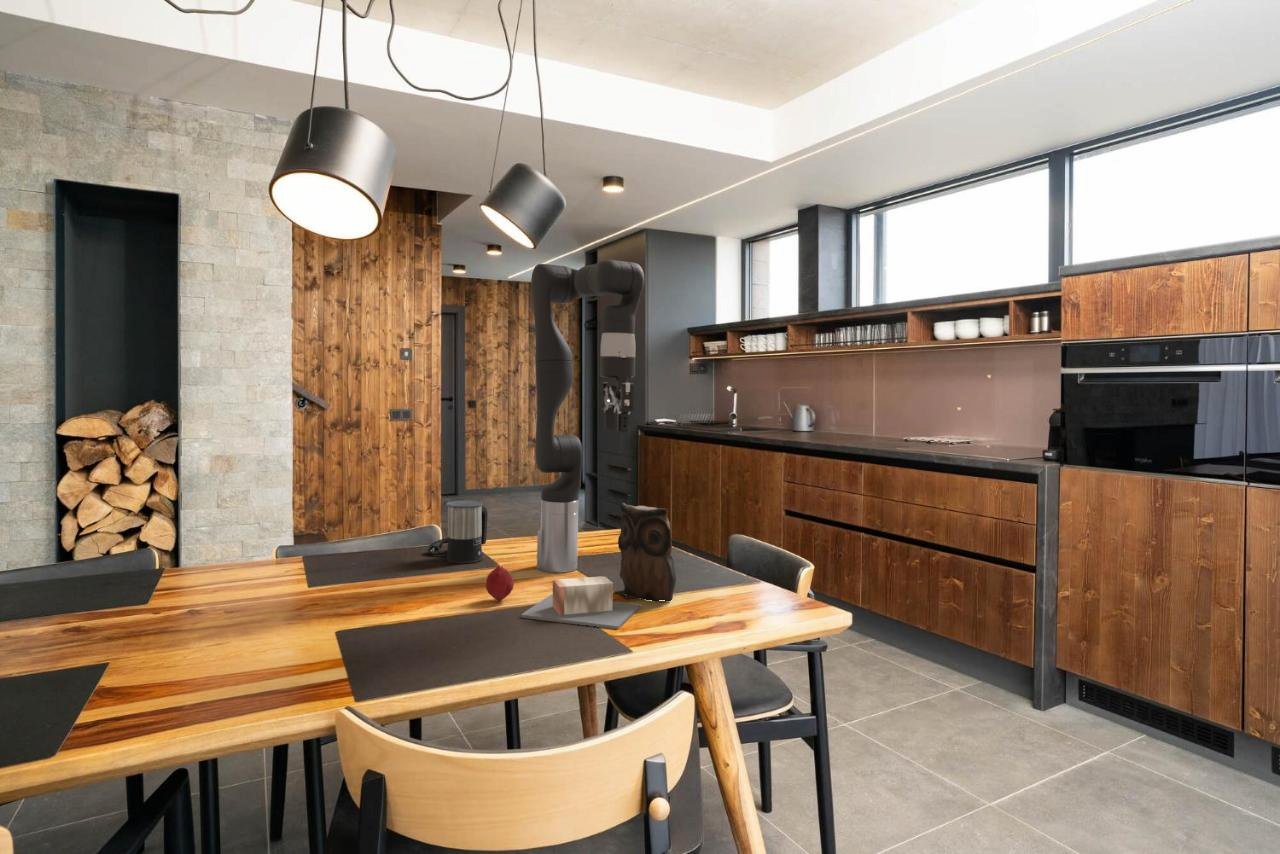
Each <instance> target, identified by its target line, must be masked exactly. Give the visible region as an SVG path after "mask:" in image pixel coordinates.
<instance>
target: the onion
mask: <svg viewBox="0 0 1280 854" xmlns="http://www.w3.org/2000/svg"><path fill="white" fill-rule="evenodd" d="M484 585H485V589H486V591H487V593H488V594H489V595H490V596H491V597H492V598H493V599H494V600H495V601H497V602H501V601H503V600H504V599H505V598H507V597H508V596H509V595H510V594H511V592H512V591H513V589H514V585H515V582H514V578H513V576H512V574H511V573H510V572H509V570H508V569H507V568H505V567H503V565H502V564H501V563H500V562H498V563H497V564H496V567H495V568H494V569H493V570H491V571H490V573H489V574H488V575H487V577H486V579H485V583H484Z"/></svg>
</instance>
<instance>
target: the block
mask: <svg viewBox="0 0 1280 854" xmlns="http://www.w3.org/2000/svg"><path fill="white" fill-rule="evenodd" d="M552 595H553V602H552V607H553V608H554V609H555V611H556V612H557V613H558V614H559V615H567V614H578V613H590V612H601V611H612V607H613V601H614V600H613V599H614V582H613V581H611V580H610V579H608V577H606V575H605V576H604V575H602V576H587V577H574V578H573V577H571V578H560V579H556V578H555V579H552Z"/></svg>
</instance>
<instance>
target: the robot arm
mask: <svg viewBox="0 0 1280 854" xmlns="http://www.w3.org/2000/svg"><path fill="white" fill-rule="evenodd" d="M531 273H532V274H531V279H530V289H531V292H530V293H531V302H532V309H533V311H532V312H533V317H534V318H533V319H534V333H535V334H534V335H535V337H534V339H535V341H534V342H535V351H534V352H535V353H534V354H535V358H534V359H535V361H534V362H535V365H534V367H535V384H536V385H535V387H536V425H535V426H536V428H535V443H534V457H535V463H536V467H537V469H538V471H540V472H541V473H544V474H553V473H561V474H560V476H559V478H557V479H556V480H555V481H554V482H552V483H550V484H548V485H546V486H544V487H542V489H541V493H540V496H541V497H540V501H541V503H540V529H539V530H537V536H536V537H537V538H536V539H537V540H536V543H537V545H536V550H537V551H536V552H537V553H536V569H537V570H541V571H544V572H550V573H569V572H573V571H576V570H577V569H578V552H579V551H578V550H579V549H578V548H579V547H578V545H579V542H578V541H579V505H580V504H579V500H580V497H579V496H580V490H581V485H582V484H581V482H582V469H583V457H584V456H583V445H582V442H581V441H582V440H580V438H579V437H578V436H577V435H575V434H554V432H555V431H554V429H555V423H556V422H555V421H556V417H557V415H558V412H559V409H560V408H561V405H562V404H563V403H564V400H566V398H567V395H568V394H569V393H570V390H571V388H572V386H573V383H574V358H573V353H572V351H571V349H570V345H569V344H568V343H567V341H566V339H565V338H564V336H563V334H562V333H561V331H560V330H559V328H558V326H557V325H556V321H555V319H554V315H553V311H552V303H553V304H569V303H573V302H574V301H577V300H579V299H581V298H584V297H601V296H606V295H610V294H611V295H620V296H621V299H620V301H619V303H618V304H613V305H607V306H606V307H604V309H603V310H602V315H601V316H602V318H601V320H602V321H601V340H600V350H599V351H600V352H599V353H600V356H599V363H600V364H599V376H600V378H607V381H603V382H602V383H601V403H600V408H601V410H603V413H604V429H605V430H608V431H610V430H611V431H612V430H615V429H616V431H617V433H628V432H629V416H630V414H631V413H633V412H634V383H633V382H628V379H633V378H635V376H636V338H635V337H636V329H635V328H636V315H637V310H638V308H639V304H640V298H641V296H642V292H643V290H644V285H645V274H644V270H643V268H642V266H640V264H638V263H636V262H631V261H624V260H615V259H601V260H599V261H598V262H596V263H594V264H589V265H585V266H582V267H580V268H579V269H574V268H571V267H569V266H565V265H559V264H558V265H557V264H549V263H547V264H546V263H537V264H536V265H535V266H534V268H533V270H532V272H531ZM616 411H617V420H616ZM616 421H617V422H616ZM616 427H617V428H616Z"/></svg>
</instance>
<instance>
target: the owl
mask: <svg viewBox="0 0 1280 854" xmlns="http://www.w3.org/2000/svg"><path fill="white" fill-rule="evenodd" d="M620 509H621V518H620V519H621V520H620V534H619V536H618V541H617V545H618V547H617V548H618V549H619V551H620V554H621V559H620V570H619V577H620V579H621V580H622V582H623V586H624V589H623V590H622V591H623V593H624V594H626V595H627V596H633V597H632V598H635V597H636V598H641V599H640V600H642V599H646V600H652V601H651V602H653V601H659V600H665V601H671V600H672V599H673V597H674V593H675V588H676V582H677V575H676V574H677V573H676V570H675V563H674V562H675V560H674V558H673V557H674V556H673V544H672V542H673V536H672V530H671V527H670V526H671V522H670V521H669V518H668V515H669V511H668V509H667V508H657V507H654V506H653V507H652V506H646V505H637V506H634V505H630V504H626V503H625V502H621V504H620ZM623 593H622V594H623ZM624 594H623V595H624ZM627 596H626V597H627ZM673 600H674V599H673Z"/></svg>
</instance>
